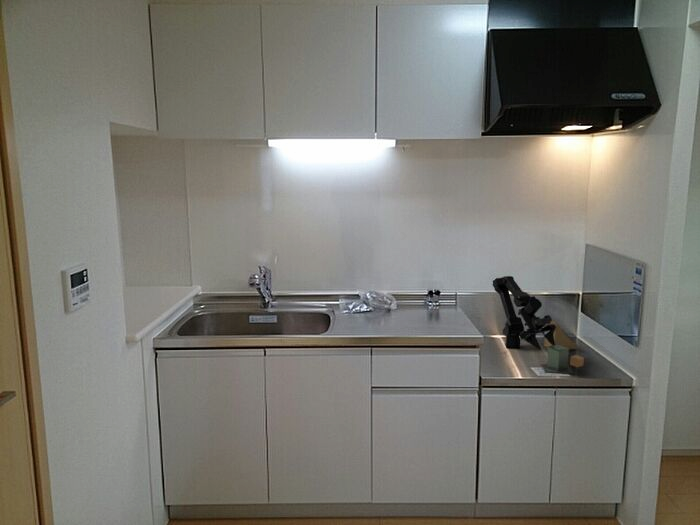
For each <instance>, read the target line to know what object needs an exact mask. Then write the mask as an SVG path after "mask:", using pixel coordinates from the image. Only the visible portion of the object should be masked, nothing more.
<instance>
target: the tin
mask: <svg viewBox="0 0 700 525" xmlns="http://www.w3.org/2000/svg"><path fill="white" fill-rule="evenodd" d="M569 352H570V349H569V348H567V347H564V346H561V345H558V344H557V345H552V346H548V347H547V363H546V364H547V368H550V369H552V370H554V371H557V372H560V371H563V370H567V367H568V366H569V365H568V364H569Z"/></svg>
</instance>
